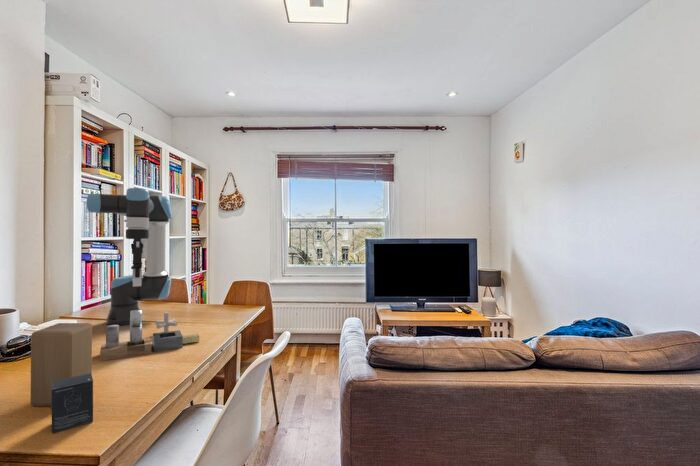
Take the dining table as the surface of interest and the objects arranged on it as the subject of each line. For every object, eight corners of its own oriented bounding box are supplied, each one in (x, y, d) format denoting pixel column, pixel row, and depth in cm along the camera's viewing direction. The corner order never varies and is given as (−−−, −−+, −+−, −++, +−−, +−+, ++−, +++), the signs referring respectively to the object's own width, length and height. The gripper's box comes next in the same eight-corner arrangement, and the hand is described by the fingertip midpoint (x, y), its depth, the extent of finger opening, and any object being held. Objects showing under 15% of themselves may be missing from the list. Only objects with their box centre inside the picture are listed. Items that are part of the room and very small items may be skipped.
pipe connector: (167, 338, 150) (168, 315, 150) (148, 337, 152) (148, 314, 152) (183, 332, 160) (183, 310, 160) (164, 330, 162) (164, 309, 162)
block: (56, 390, 101) (57, 322, 101) (93, 389, 102) (93, 322, 102) (28, 407, 91) (29, 332, 91) (68, 406, 92) (69, 332, 92)
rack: (101, 353, 131) (101, 324, 131) (150, 346, 140) (150, 319, 139) (100, 360, 124) (100, 330, 124) (151, 353, 133) (151, 324, 133)
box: (91, 413, 89) (92, 372, 89) (93, 422, 85) (93, 379, 85) (51, 423, 84) (52, 380, 84) (51, 434, 80) (51, 388, 80)
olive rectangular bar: (177, 342, 144) (177, 336, 144) (198, 339, 149) (198, 333, 149) (178, 344, 142) (178, 338, 142) (199, 341, 146) (199, 335, 146)
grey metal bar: (129, 351, 134) (130, 310, 134) (141, 349, 136) (142, 309, 136) (129, 354, 131) (130, 312, 131) (142, 352, 133) (142, 311, 133)
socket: (152, 344, 143) (152, 333, 143) (179, 340, 148) (179, 330, 148) (154, 351, 134) (154, 340, 134) (182, 347, 140) (182, 336, 140)
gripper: (125, 228, 142) (125, 279, 142) (125, 228, 121) (124, 289, 121) (147, 228, 146) (146, 278, 146) (150, 229, 125) (149, 287, 125)
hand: (136, 283), depth 133 cm, fingers open, 13 cm apart
